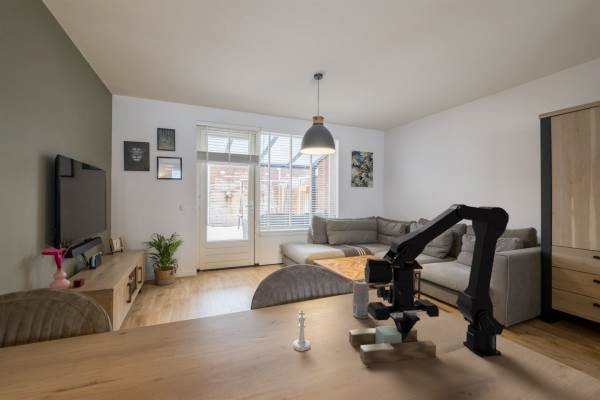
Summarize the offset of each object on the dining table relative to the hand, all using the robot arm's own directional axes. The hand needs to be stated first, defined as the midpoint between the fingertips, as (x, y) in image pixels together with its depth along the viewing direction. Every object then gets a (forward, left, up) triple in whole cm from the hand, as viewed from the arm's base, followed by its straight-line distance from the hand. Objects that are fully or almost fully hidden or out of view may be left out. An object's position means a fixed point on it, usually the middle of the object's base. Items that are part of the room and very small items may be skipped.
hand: (402, 340), depth 74 cm
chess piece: (+28, -5, -2) cm, 28 cm away
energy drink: (+4, -21, -2) cm, 21 cm away
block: (+4, 0, -2) cm, 5 cm away
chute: (+4, 0, -2) cm, 4 cm away
